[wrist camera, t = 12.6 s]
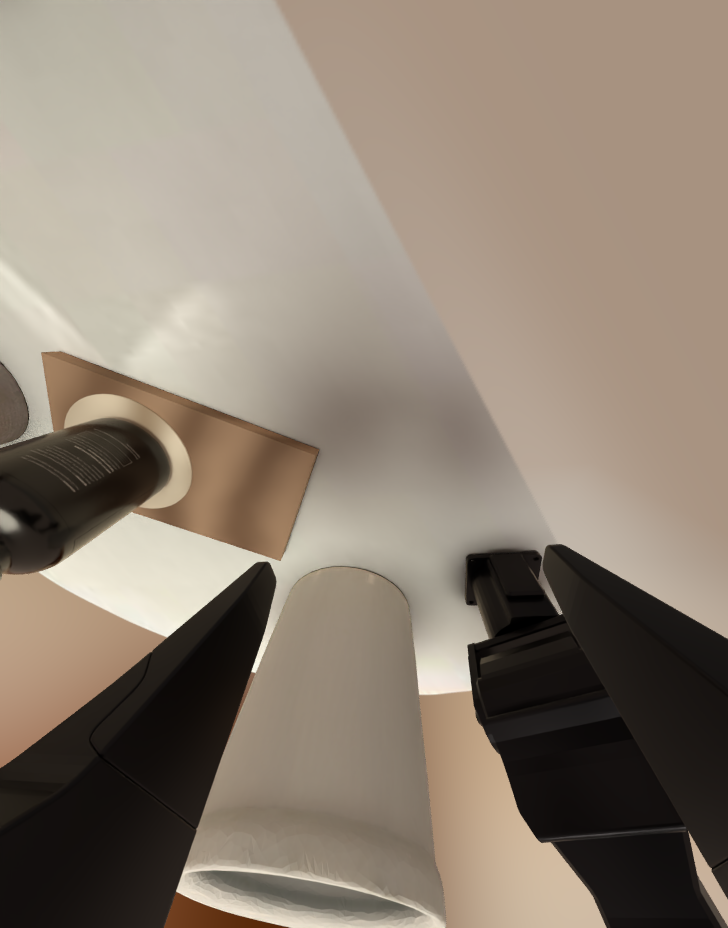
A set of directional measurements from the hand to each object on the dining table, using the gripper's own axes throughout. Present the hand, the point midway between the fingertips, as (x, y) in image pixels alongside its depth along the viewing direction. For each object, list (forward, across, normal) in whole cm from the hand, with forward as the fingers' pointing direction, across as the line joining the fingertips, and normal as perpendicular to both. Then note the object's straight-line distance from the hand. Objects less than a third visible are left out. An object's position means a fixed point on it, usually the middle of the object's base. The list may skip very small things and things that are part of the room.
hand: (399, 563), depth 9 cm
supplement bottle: (+12, +21, -1) cm, 24 cm away
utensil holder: (+13, +7, +20) cm, 25 cm away
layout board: (+13, +18, +1) cm, 22 cm away
